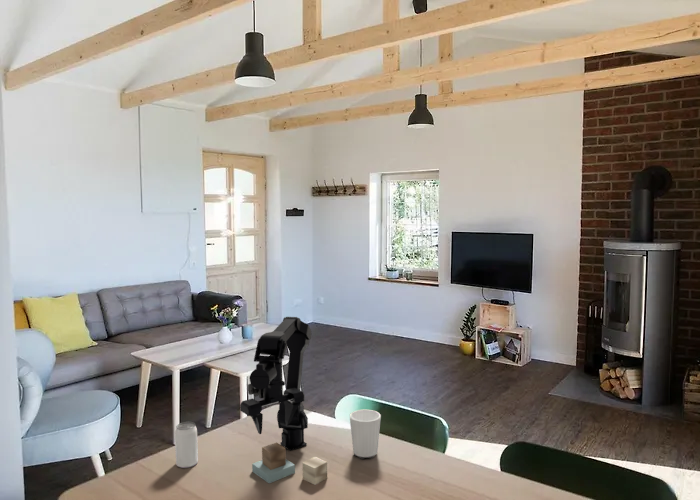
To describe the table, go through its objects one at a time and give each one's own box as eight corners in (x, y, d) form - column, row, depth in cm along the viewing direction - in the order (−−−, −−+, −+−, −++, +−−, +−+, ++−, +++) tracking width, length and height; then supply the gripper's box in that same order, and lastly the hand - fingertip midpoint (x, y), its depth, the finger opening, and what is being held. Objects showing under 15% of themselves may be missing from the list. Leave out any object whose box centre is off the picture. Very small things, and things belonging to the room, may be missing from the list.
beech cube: (315, 472, 159) (314, 456, 158) (327, 478, 155) (327, 461, 155) (302, 479, 155) (302, 462, 155) (315, 485, 152) (314, 468, 151)
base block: (277, 463, 165) (277, 454, 165) (295, 474, 159) (294, 464, 158) (252, 473, 159) (252, 463, 159) (269, 485, 153) (268, 475, 152)
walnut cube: (277, 458, 162) (276, 442, 162) (285, 464, 158) (285, 448, 158) (262, 463, 159) (261, 447, 159) (270, 470, 155) (270, 453, 155)
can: (191, 469, 161) (190, 430, 160) (171, 467, 162) (170, 429, 161) (201, 459, 167) (200, 422, 166) (182, 457, 169) (181, 420, 168)
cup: (344, 458, 167) (344, 418, 166) (356, 445, 176) (356, 407, 175) (375, 464, 163) (374, 423, 162) (385, 450, 173) (385, 411, 171)
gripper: (285, 365, 169) (286, 413, 170) (230, 377, 157) (232, 429, 159) (305, 373, 160) (306, 424, 161) (248, 387, 148) (250, 442, 150)
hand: (273, 429), depth 158 cm, fingers open, 9 cm apart
